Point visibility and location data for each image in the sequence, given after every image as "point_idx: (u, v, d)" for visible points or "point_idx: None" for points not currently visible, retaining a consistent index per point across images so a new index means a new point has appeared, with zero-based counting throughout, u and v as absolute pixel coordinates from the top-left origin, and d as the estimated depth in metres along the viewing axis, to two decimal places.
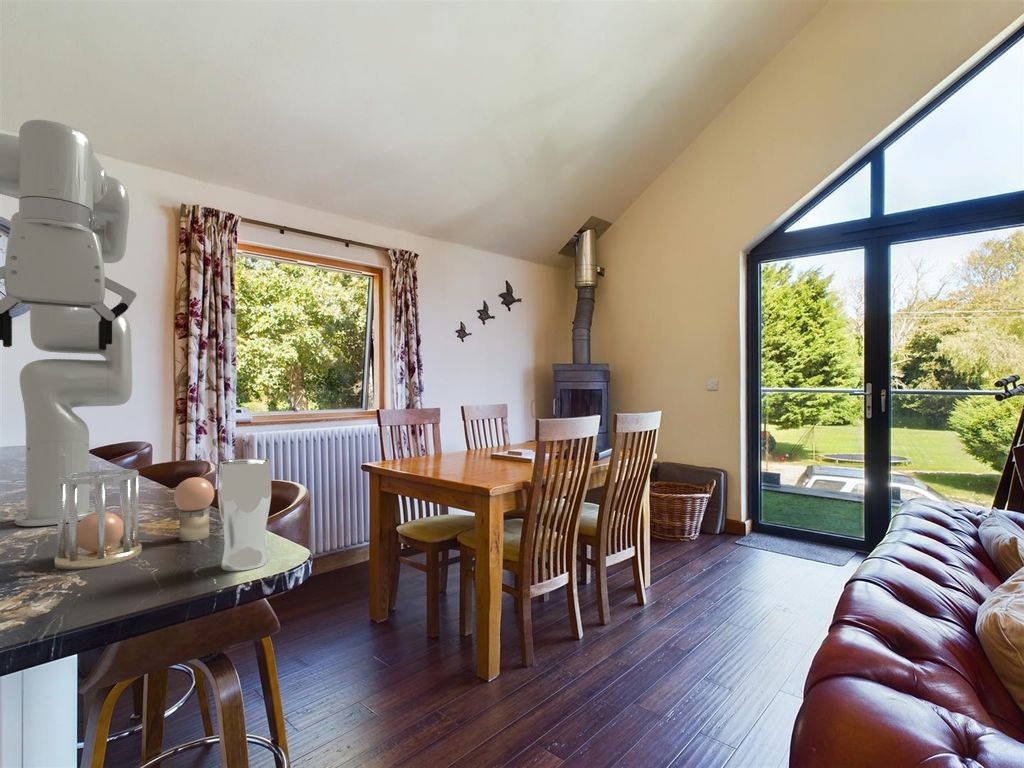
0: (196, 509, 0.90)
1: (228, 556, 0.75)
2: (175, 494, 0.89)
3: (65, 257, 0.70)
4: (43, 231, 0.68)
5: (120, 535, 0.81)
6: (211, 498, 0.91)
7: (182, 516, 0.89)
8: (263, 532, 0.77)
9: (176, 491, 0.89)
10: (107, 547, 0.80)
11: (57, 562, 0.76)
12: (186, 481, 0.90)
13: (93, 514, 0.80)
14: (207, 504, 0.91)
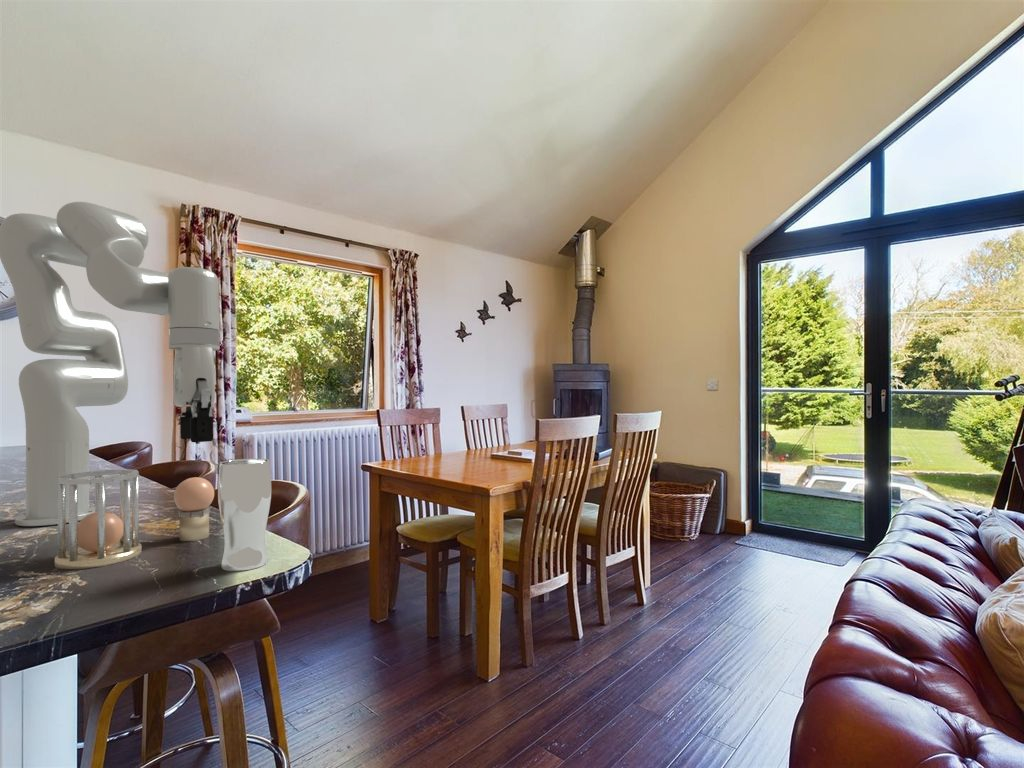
0: (196, 509, 0.90)
1: (228, 556, 0.75)
2: (175, 494, 0.89)
3: None
4: None
5: (120, 535, 0.81)
6: (211, 498, 0.91)
7: (182, 516, 0.89)
8: (263, 532, 0.77)
9: (176, 491, 0.89)
10: (107, 547, 0.80)
11: (57, 562, 0.76)
12: (186, 481, 0.90)
13: (93, 514, 0.80)
14: (207, 504, 0.91)
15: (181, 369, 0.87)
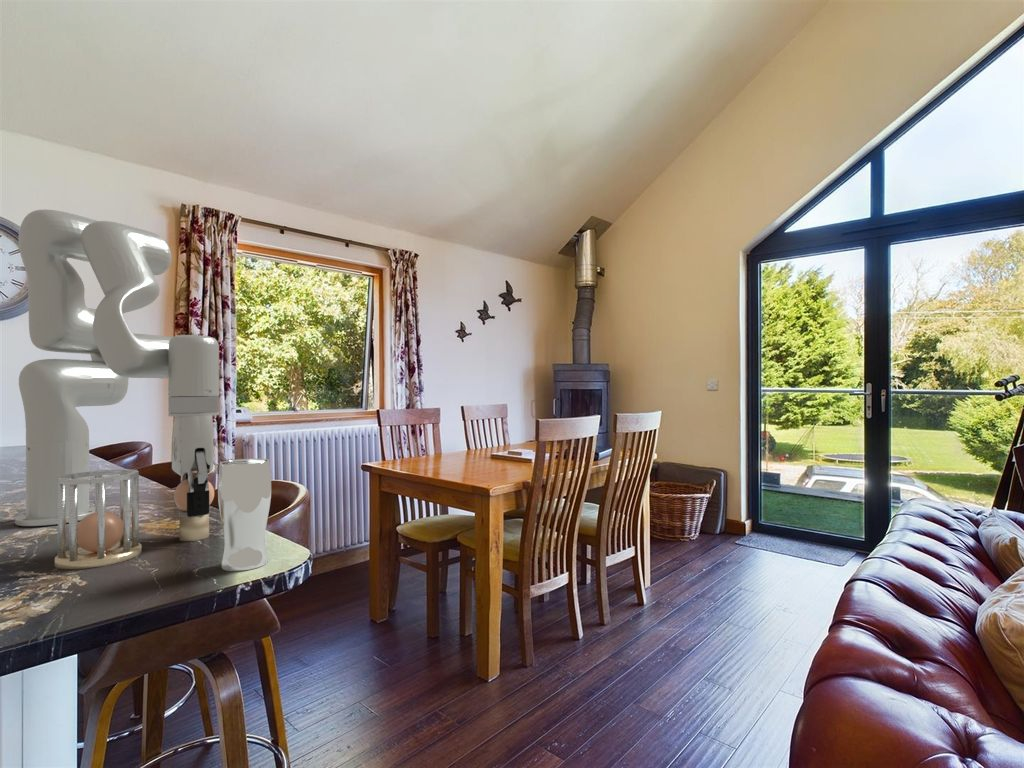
0: None
1: (228, 556, 0.75)
2: (175, 494, 0.89)
3: None
4: None
5: (120, 535, 0.81)
6: (211, 498, 0.91)
7: (182, 516, 0.89)
8: (263, 532, 0.77)
9: (176, 491, 0.89)
10: (107, 547, 0.80)
11: (57, 562, 0.76)
12: (186, 481, 0.90)
13: (93, 514, 0.80)
14: None
15: (180, 439, 0.87)
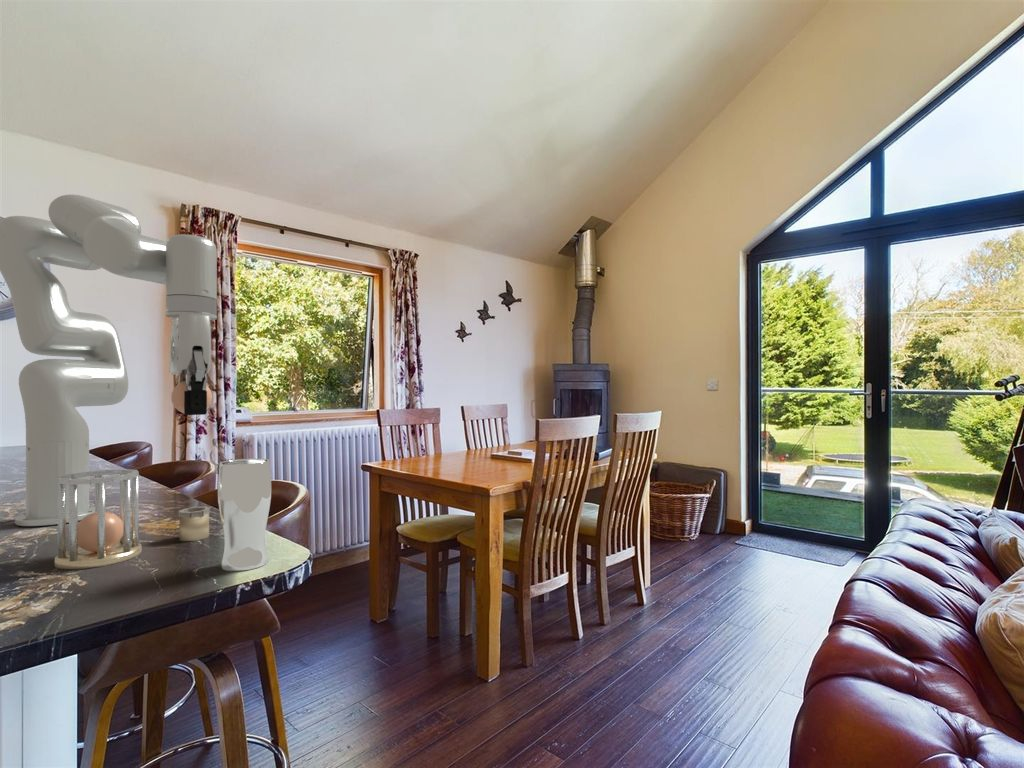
0: None
1: (228, 556, 0.75)
2: (173, 394, 0.89)
3: None
4: None
5: (120, 535, 0.81)
6: (209, 400, 0.91)
7: (182, 516, 0.89)
8: (263, 532, 0.77)
9: (174, 391, 0.89)
10: (107, 547, 0.80)
11: (57, 562, 0.76)
12: (184, 382, 0.90)
13: (93, 514, 0.80)
14: None
15: (178, 336, 0.87)
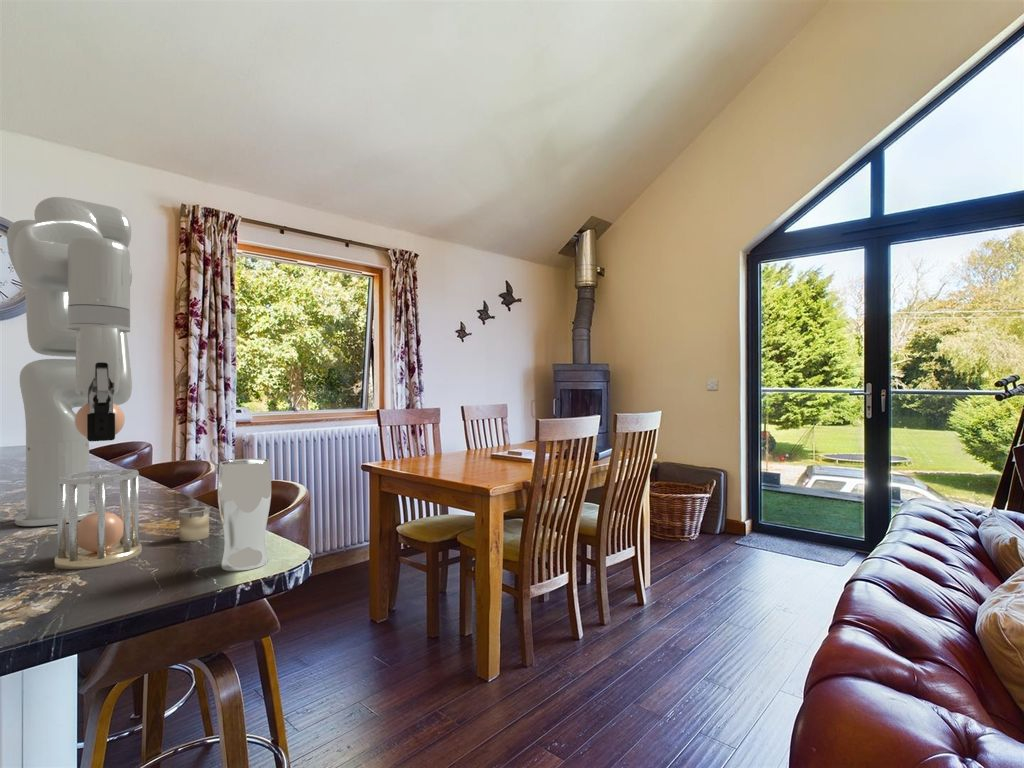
0: None
1: (228, 556, 0.75)
2: (76, 417, 0.78)
3: None
4: (120, 336, 0.81)
5: (120, 535, 0.81)
6: (119, 424, 0.81)
7: (182, 516, 0.89)
8: (263, 532, 0.77)
9: (77, 414, 0.78)
10: (107, 547, 0.80)
11: (57, 562, 0.76)
12: None
13: (93, 514, 0.80)
14: None
15: (78, 352, 0.76)
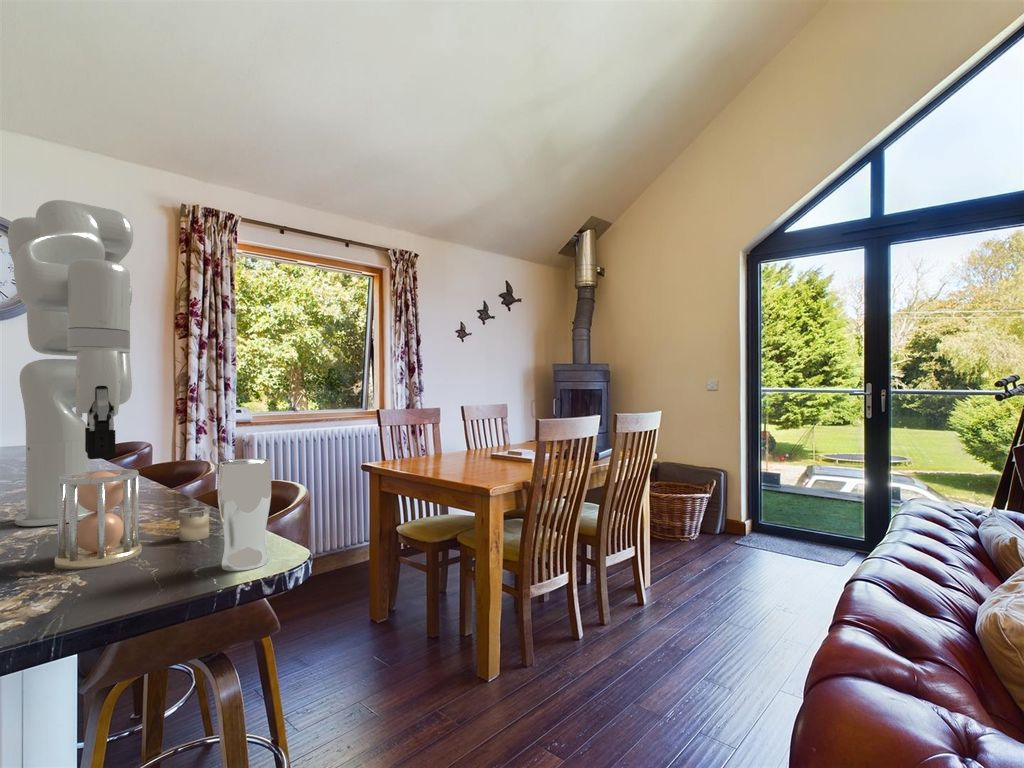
0: None
1: (228, 556, 0.75)
2: None
3: None
4: (120, 357, 0.81)
5: (120, 535, 0.81)
6: (120, 495, 0.81)
7: (182, 516, 0.89)
8: (263, 532, 0.77)
9: (79, 485, 0.79)
10: (107, 547, 0.80)
11: (57, 562, 0.76)
12: (92, 474, 0.80)
13: (92, 514, 0.79)
14: (114, 502, 0.80)
15: (78, 375, 0.76)
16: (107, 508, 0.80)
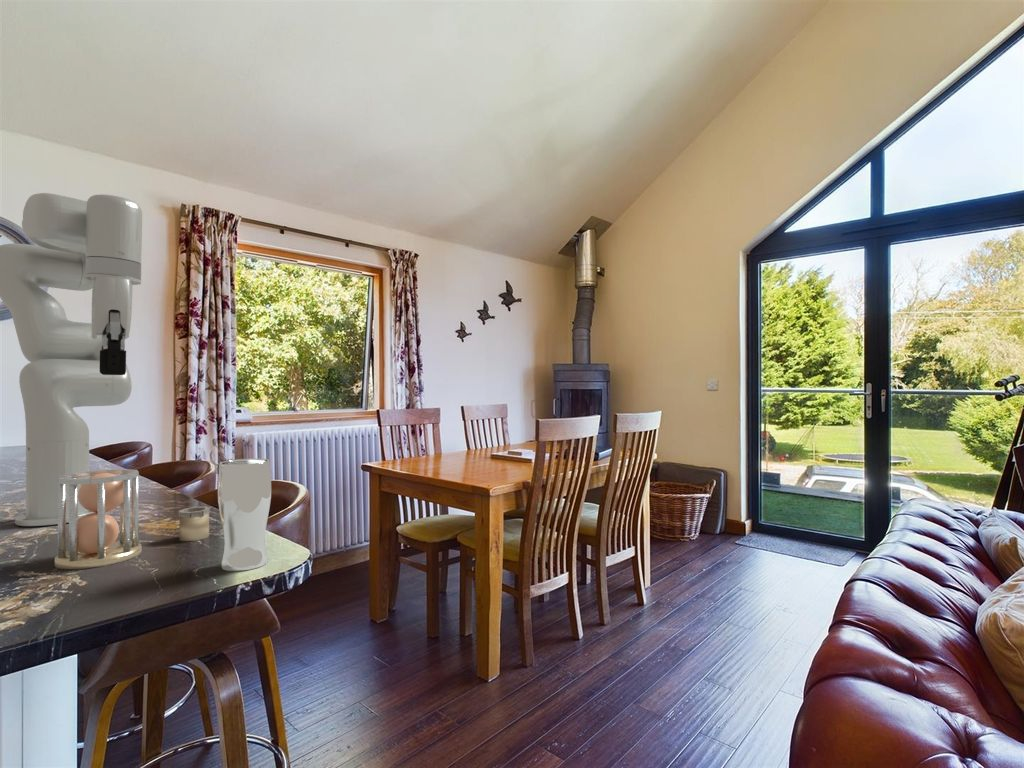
0: None
1: (228, 556, 0.75)
2: None
3: None
4: None
5: (116, 535, 0.80)
6: (119, 495, 0.81)
7: (182, 516, 0.89)
8: (263, 532, 0.77)
9: None
10: (106, 548, 0.79)
11: (57, 562, 0.76)
12: None
13: (82, 520, 0.78)
14: (111, 497, 0.80)
15: (94, 299, 0.85)
16: None
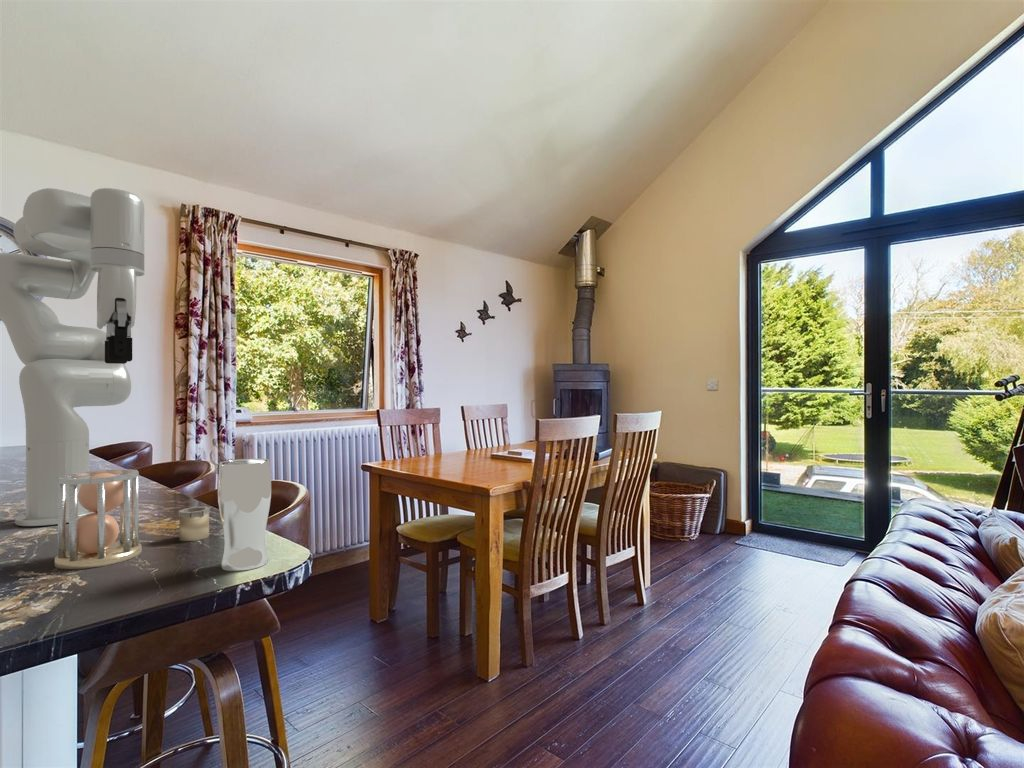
0: None
1: (228, 556, 0.75)
2: None
3: None
4: None
5: (116, 535, 0.80)
6: (119, 495, 0.81)
7: (182, 516, 0.89)
8: (263, 532, 0.77)
9: None
10: (106, 548, 0.79)
11: (57, 562, 0.76)
12: None
13: (82, 520, 0.78)
14: (111, 497, 0.80)
15: (100, 288, 0.87)
16: None
